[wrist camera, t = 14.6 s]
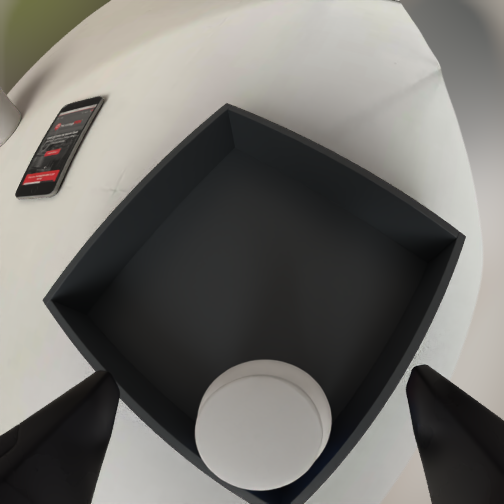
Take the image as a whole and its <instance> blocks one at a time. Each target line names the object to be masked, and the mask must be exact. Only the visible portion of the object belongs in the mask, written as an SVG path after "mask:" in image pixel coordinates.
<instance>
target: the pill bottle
mask: <svg viewBox="0 0 504 504" xmlns="http://www.w3.org/2000/svg"><path fill="white" fill-rule="evenodd" d="M331 425H332V417H331V409H330V406H329V403H328V400H327V398H326V396H325V393H324V392H323V390H322V388H321V387H320V385H319V384H318V383H317V382H316V381H315V380H314V379H313V378H312V377H311V376H310V375H309V374H308V373H306V372H305V371H303V370H301V369H300V368H298V367H296V366H294V365H291V364H289V363H285V362H282V361H277V360H254V361H248V362H245V363H242V364H239V365H236V366H234V367H232V368H230V369H228V370H227V371H225V372H224V373H222V374H221V375H220V376H219V377H217V378H216V379H215V380H214V381H213V382H212V384H211V385H210V386H209V387H208V389H207V390H206V392H205V394H204V396H203V398H202V400H201V403H200V406H199V410H198V416H197V420H196V425H195V440H196V445H197V449H198V451H199V454H200V456H201V458H202V460H203V461H204V463H205V464H206V466H207V467H208V468H209V469H210V470H211V471H212V472H213V473H214V474H215V475H216V476H217V477H219V478H220V479H221V480H223V481H225V482H227V483H229V484H231V485H233V486H236V487H239V488H243V489H248V490H270V489H271V490H272V489H276V488H280V487H282V486H285V485H287V484H290V483H292V482H293V481H295V480H297V479H298V478H300V477H301V476H302V475H303V474H305V473H306V472H307V471H308V470H309V468H310V467H311V466H312V464H313V463H314V462H315V460H316V459H317V458H318V457H319V456H320V454H321V453H322V451H323V450H324V448H325V446H326V444H327V442H328V439H329V435H330V431H331Z"/></svg>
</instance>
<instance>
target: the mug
mask: <svg viewBox="0 0 504 504" xmlns="http://www.w3.org/2000/svg"><path fill="white" fill-rule="evenodd" d="M20 120H21V114H20V112H19V111H18V110H17V108H16V107H15V106H14V105H13V103H12V102H11V101H10V99H9V98H8V97H7V95H6V94H5V93H4V91H3V90H2V88H1V87H0V146H2V145H3V144H4V143H5V142H6V141H7V140H8V138H9V137H10V136H11V135H12V134H13V132H14V131H15V129H16V128H17V126H18V125H19V123H20Z"/></svg>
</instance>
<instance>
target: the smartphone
mask: <svg viewBox="0 0 504 504" xmlns="http://www.w3.org/2000/svg"><path fill="white" fill-rule="evenodd" d="M103 101H104V99H103V97H102V96H98V97H94V98H90V99H86V100H82V101H78V102H74V103H70V104H67V105H65V106H64V107H63V108H62V109H61V110H60V112H59V114H58V115H57V117H56V118H55V120H54V121H53V123H52V125H51V126H50V128H49V130H48V131H47V133H46V135H45V136H44V138H43V140H42V142H41V143H40V145H39V147H38V149H37V151H36V152H35V154H34V156H33V158H32V160H31V162H30V164H29V166H28V168H27V170H26V172H25V174H24V176H23V178H22V180H21V182H20V184H19V186H18V189H17V191H16V194H15V196H16V198H18V199H31V198H44V197H52V196H54V195H55V194H56V193H57V191H58V189H59V187H60V184H61V182H62V180H63V178H64V175H65V173H66V171H67V169H68V167H69V164H70V162H71V160H72V158H73V156H74V154H75V152H76V150H77V148H78V146H79V144H80V142H81V140H82V139H83V137H84V135H85V133H86V131H87V129H88V127H89V126H90V124H91V122H92V120H93V119H94V117H95V115H96V113H97V112H98V110H99V108H100V107H101V105H102V103H103Z"/></svg>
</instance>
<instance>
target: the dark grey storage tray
mask: <svg viewBox="0 0 504 504" xmlns="http://www.w3.org/2000/svg"><path fill="white" fill-rule="evenodd" d="M465 238H466V236H465V235H463V234H462V233H461V232H459V231H458V230H457V229H455V228H454V227H453V226H451V225H450V224H449V223H447V222H446V221H445V220H443V219H442V218H440V217H439V216H438V215H436V214H435V213H433V212H432V211H430V210H429V209H427V208H426V207H425V206H423V205H422V204H420V203H419V202H417V201H416V200H414V199H413V198H411V197H410V196H408V195H406V194H405V193H403V192H402V191H400V190H399V189H397V188H395V187H394V186H392V185H391V184H389V183H387V182H386V181H384V180H382V179H381V178H379V177H377V176H376V175H374V174H372V173H371V172H369V171H367V170H366V169H364V168H362V167H360V166H359V165H357V164H355V163H353V162H351V161H350V160H348V159H346V158H344V157H342V156H340V155H339V154H337V153H335V152H333V151H331V150H329V149H327V148H325V147H323V146H321V145H319V144H317V143H316V142H314V141H312V140H310V139H307V138H305V137H303V136H301V135H299V134H297V133H295V132H293V131H291V130H289V129H287V128H284V127H282V126H280V125H278V124H276V123H273V122H271V121H269V120H267V119H264V118H262V117H260V116H257V115H255V114H253V113H250V112H248V111H245V110H243V109H241V108H238V107H236V106H232V105H230V104H228V103H226V104H225V105H224V106H222V107H221V108H220V109H219V110H218V111H216V112H215V113H214V114H213V115H212V116H210V117H209V118H208V119H207V120H206V121H205V122H203V123H202V124H201V125H200V126H199V127H198V128H196V129H195V130H194V131H193V132H192V133H191V134H190V135H189V136H187V137H186V138H185V139H184V140H183V141H182V142H181V143H180V144H179V145H178V146H177V147H175V148H174V149H173V150H172V151H171V152H170V153H169V154H168V155H167V156H166V157H165V158H164V159H163V160H162V161H161V162H160V163H159V164H158V165H157V166H156V167H155V168H154V169H153V170H152V171H151V172H150V173H149V174H148V175H147V176H146V177H145V178H144V179H143V180H142V181H141V182H140V183H139V184H138V185H137V186H136V187H135V188H134V189H133V190H132V191H131V192H130V193H129V194H128V195H127V196H126V198H125V199H124V200H123V201H122V202H121V203H120V204H119V205H118V206H117V207H116V208H115V210H114V211H113V212H112V213H111V214H110V215H109V216H108V217H107V219H106V220H105V221H104V222H103V223H102V224H101V225H100V227H99V228H98V229H97V230H96V231H95V232H94V234H93V235H92V236H91V237H90V238H89V240H88V241H87V242H86V243H85V245H84V246H83V247H82V248H81V250H80V251H79V252H78V253H77V255H76V256H75V257H74V258H73V260H72V261H71V262H70V263H69V265H68V266H67V267H66V269H65V270H64V271H63V273H62V274H61V275H60V277H59V278H58V279H57V281H56V282H55V283H54V285H53V286H52V288H51V289H50V290H49V292H48V293H47V295H46V296H45V298H44V299H43V302H44V303H45V305H46V306H47V308H48V309H49V311H50V312H51V314H52V315H53V317H54V318H55V320H56V321H57V322H58V324H59V325H60V327H61V328H62V329H63V331H64V332H65V333H66V335H67V336H68V337H69V339H70V340H71V341H72V343H73V344H74V345H75V347H76V348H77V349H78V350H79V352H80V353H81V354H82V355H83V357H84V358H85V359H86V360H87V362H88V363H89V364H90V365H91V366H92V368H93V369H94V370H95V371H98V370H103V371H109V372H111V373H112V375H113V377H114V379H115V381H116V383H117V385H118V387H119V390H120V399H121V400H122V401H123V402H124V403H125V404H126V405H127V406H128V407H129V408H130V409H131V410H132V411H133V412H134V413H135V414H136V415H137V416H138V417H139V418H140V419H141V420H142V421H143V422H144V423H145V424H147V425H148V426H149V427H150V428H151V429H152V430H153V431H154V432H155V433H156V434H157V435H159V436H160V437H161V438H162V439H163V440H164V441H165V442H166V443H168V444H169V445H170V446H171V447H172V448H174V449H175V450H176V451H177V452H178V453H180V454H181V455H182V456H183V457H184V458H186V459H187V460H188V461H190V462H191V463H192V464H193V465H195V466H196V467H197V468H199V469H200V470H201V471H203V472H204V473H205V474H207V475H208V476H209V477H211V478H212V479H214V480H215V481H216V482H218V483H219V484H221V485H222V486H224V487H225V488H227V489H228V490H229V491H231V492H233V493H234V494H236V495H237V496H239V497H240V498H242V499H243V500H245V501H247V502H248V503H250V504H304V503H305V502H306V501H307V500H308V499H309V498H310V497H311V496H312V495H313V494H314V493H315V492H316V491H317V490H318V488H319V487H320V486H321V485H322V484H323V483H324V482H325V481H326V480H327V479H328V478H329V476H330V475H331V474H332V473H333V472H334V471H335V470H336V468H337V467H338V466H339V465H340V464H341V463H342V461H343V460H344V459H345V458H346V456H347V455H348V454H349V453H350V452H351V450H352V449H353V448H354V447H355V445H356V444H357V443H358V441H359V440H360V439H361V437H362V436H363V435H364V433H365V432H366V431H367V429H368V428H369V427H370V425H371V424H372V422H373V421H374V420H375V418H376V417H377V415H378V414H379V412H380V411H381V410H382V408H383V407H384V405H385V404H386V402H387V401H388V399H389V397H390V396H391V394H392V393H393V391H394V390H395V388H396V386H397V385H398V383H399V382H400V380H401V378H402V377H403V375H404V373H405V371H406V370H407V368H408V366H409V365H410V363H411V361H412V359H413V357H414V356H415V354H416V352H417V350H418V348H419V346H420V344H421V343H422V341H423V339H424V337H425V335H426V333H427V331H428V329H429V327H430V325H431V323H432V321H433V318H434V316H435V314H436V312H437V310H438V308H439V305H440V303H441V301H442V299H443V296H444V294H445V292H446V289H447V287H448V285H449V282H450V280H451V277H452V275H453V272H454V269H455V267H456V264H457V261H458V259H459V256H460V253H461V250H462V247H463V244H464V241H465ZM254 360H277V361H282V362H285V363H289V364H291V365H294V366H296V367H298V368H300V369H301V370H303V371H305V372H306V373H308V374H309V375H310V376H311V377H312V378H313V379H314V380H315V381H316V382H317V383H318V384H319V385H320V387H321V388H322V390H323V392H324V393H325V396H326V398H327V400H328V403H329V406H330V409H331V417H332V425H331V431H330V435H329V439H328V442H327V444H326V446H325V448H324V450H323V451H322V453H321V454H320V456H319V457H318V458H317V459H316V460H315V462H314V463H313V464H312V466H311V467H310V468H309V470H308V471H307V472H306V473H305V474H303V475H302V476H301V477H300V478H298V479H297V480H295V481H293V482H292V483H290V484H287V485H285V486H282V487H280V488H276V489H272V490H271V489H270V490H248V489H243V488H239V487H236V486H233V485H231V484H229V483H227V482H225V481H223V480H221V479H220V478H219V477H217V476H216V475H215V474H214V473H213V472H212V471H211V470H210V469H209V468H208V467H207V466H206V464H205V463H204V461H203V460H202V458H201V456H200V454H199V451H198V449H197V445H196V440H195V425H196V420H197V416H198V410H199V406H200V403H201V400H202V398H203V396H204V394H205V392H206V390H207V389H208V387H209V386H210V385H211V384H212V382H213V381H214V380H215V379H216V378H217V377H219V376H220V375H221V374H222V373H224V372H225V371H227V370H228V369H230V368H232V367H234V366H236V365H239V364H242V363H245V362H248V361H254Z"/></svg>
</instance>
